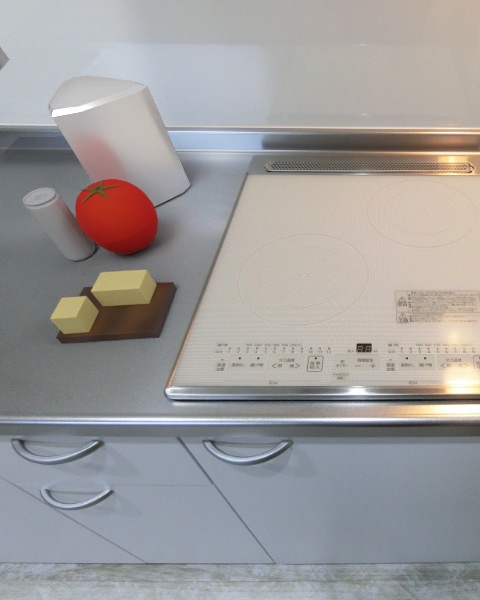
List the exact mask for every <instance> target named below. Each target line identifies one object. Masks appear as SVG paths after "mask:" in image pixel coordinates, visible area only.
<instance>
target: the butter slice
mask: <svg viewBox="0 0 480 600" xmlns="http://www.w3.org/2000/svg"><path fill="white" fill-rule="evenodd" d="M98 313H99V311H98V309H97V308H96V307H95V306H94V305H93V303H92V302H91V301H90V300H89V298H88V297H87V296H79V295H78V296H67V297H61V298H60V299H59V302H58V304H57V305H56V306H55V309H54V311H53V312H52V314H51V315H50V317H49V320H50V321H51V322H52V323H53V324H54V325H55V326H56V327H57V328H58V329H59V331H60V330H61V331H62V332H63V333H64V334H71V333H85V332H89V331H90V329H91V327H92V325H93V323H94V321H95V319H96V317H97V315H98Z"/></svg>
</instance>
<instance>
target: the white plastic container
mask: <svg viewBox="0 0 480 600" xmlns="http://www.w3.org/2000/svg"><path fill="white" fill-rule="evenodd" d="M47 109H48V111H49V114H50V116H51V118H52V120H53V121H54V123H55V124H56V126H57V127H58V130H59V131H60V133H61V134H62V136H63V137H64V139H65V141H66V142H67V144H68V145H69V147H70V149H71V150H72V151H73V153H74V154H75V157H76V158H77V159H78V161H79V163H80V164H81V166H82V168H83V169H84V172H85V173H86V174H87V175H88V177H89V179H90V181H91V182H92V184H93V183H96V182H99V181H102V180H106V179H119V180H123V181H127V182H129V183H131V184H133V185H135V186H137V187H138V188H139V189H140V190H142V191H143V192H144V193H145V194H146V195H147V197H148V198H149V199H150V200H151V202H152V204H153V205H154V207H156V206H158V205H161V204H163V203H165V202H167V201H169V200H172V199H174V198H175V197H177V196H180V195H181V194H184V193H185V192H186V191H187V190H188V189H189V187H191V183H190V181H189V178H188V176H187V174H186V171H185V169H184V167H183V164H182V162H181V160H180V157H179V155H178V153H177V150H176V148H175V146H174V143H173V141H172V139H171V136H170V133H169V131H168V130H167V129H168V128H166V125H165V122H164V120H163V117H162V116H161V114H160V111H159V108H158V107H157V104H156V102H155V99H154V97H153V94H152V92H151V90H150V87H149V85H147V84H143V83H140V82H137V81H133V80H129V79H121V78H112V77H103V76H94V75H79V76H73V77H71V78H68V79H65V80H64V81H63V82H62V83H61V84H60V85H59V87H58V88H57V89H56V91H55V92H54V94H53V95H52V96H51V98H50V100H49V101H48V104H47Z"/></svg>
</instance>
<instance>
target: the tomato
mask: <svg viewBox="0 0 480 600" xmlns="http://www.w3.org/2000/svg"><path fill="white" fill-rule="evenodd" d="M78 190H79V191H80V193H79V194H78V195H77V197H76V199H75V205H74V210H75V217H76V219H77V221H78V223H79V225H80V227H81V229H82V230H83V231H84V233H85V234H86V235H87V236H88V237H89V238H90V239H91V240H92V241H93V243H94V244H96V245H98V246H99V247H101V248H103V249H104V250H106V251H108V252H111V253H114V254H118V255H130V254H131V255H132V254H133V253H137V252H140V251H142V250H144V249H146V248H148V247H149V246H150V245H152V243H153V242H154V239H155V238H156V236H157V232H158V229H159V217H158V213H157V209H156V206H154V205H153V204H152V202H151V200H150V199H149V198H148V197H147V195H146V194H145V193H144V192H143V191H142V190H140V189H139V188H138V187H137V186H135V185H133V184H131V183H129V182H127V181H123V180H119V179H106V180H102V181H99V182H96V183H93V182H92V183H91V184H89V185H88V186H86V187H84V188H81V189H80V188H79V189H78Z"/></svg>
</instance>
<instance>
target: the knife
mask: <svg viewBox="0 0 480 600" xmlns="http://www.w3.org/2000/svg"><path fill="white" fill-rule="evenodd" d="M9 61H10V58H9V56H8V55H7V54H6V52H5V51H4V50H3V49H2V47H1V46H0V71H1V70H2V69H3V68H4V67H6V65H7V63H8V62H9Z"/></svg>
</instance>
